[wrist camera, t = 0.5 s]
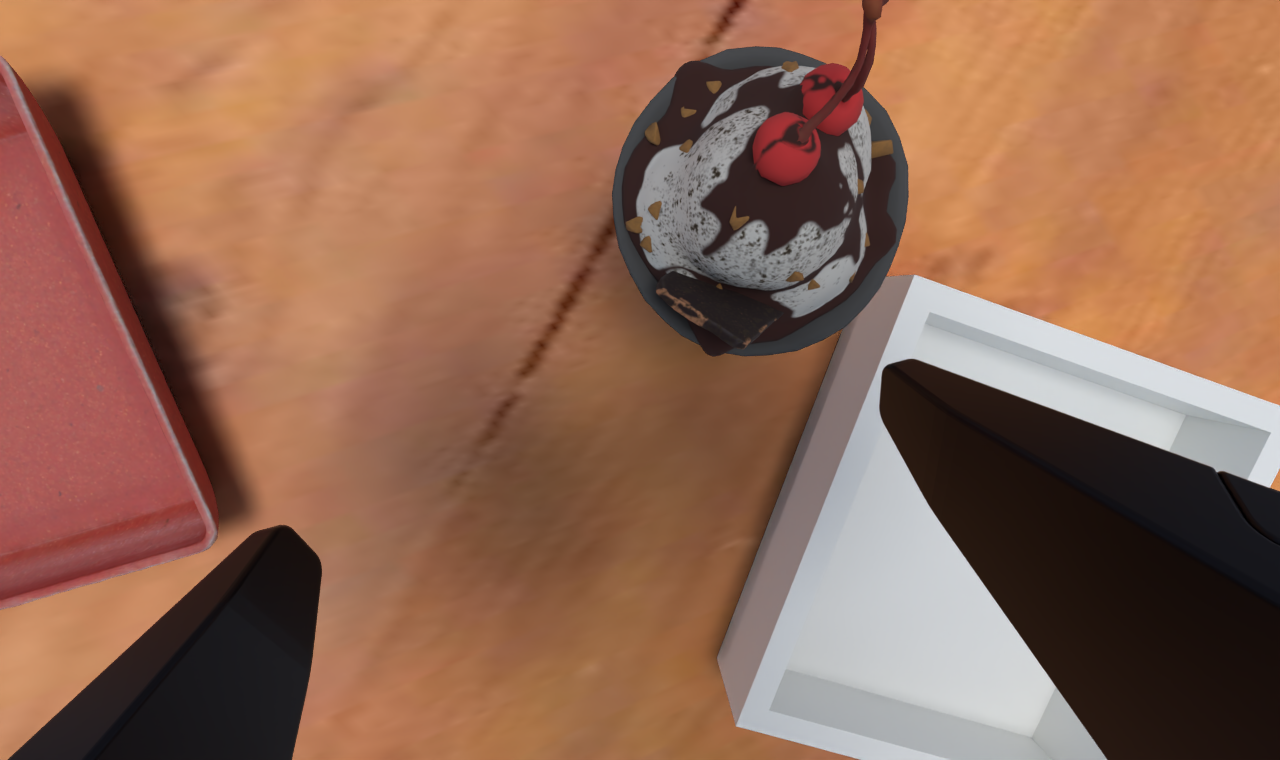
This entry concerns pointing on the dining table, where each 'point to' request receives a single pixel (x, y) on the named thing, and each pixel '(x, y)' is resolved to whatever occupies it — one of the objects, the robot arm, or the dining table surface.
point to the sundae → (762, 197)
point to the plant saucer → (78, 390)
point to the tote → (937, 541)
